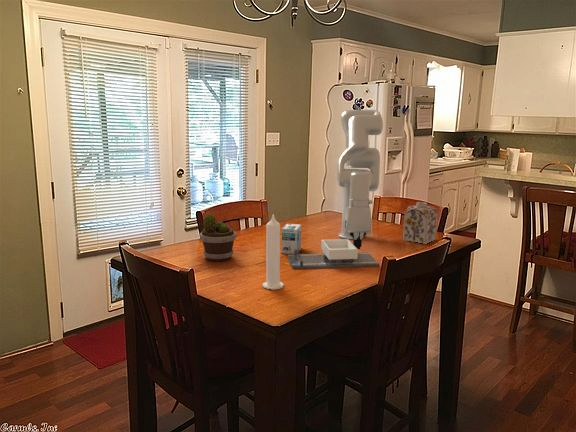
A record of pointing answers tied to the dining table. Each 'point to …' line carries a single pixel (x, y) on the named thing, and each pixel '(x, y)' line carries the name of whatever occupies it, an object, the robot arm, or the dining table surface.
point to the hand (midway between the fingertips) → (357, 248)
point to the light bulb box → (291, 238)
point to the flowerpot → (217, 239)
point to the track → (328, 261)
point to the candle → (273, 255)
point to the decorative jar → (420, 223)
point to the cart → (339, 250)
